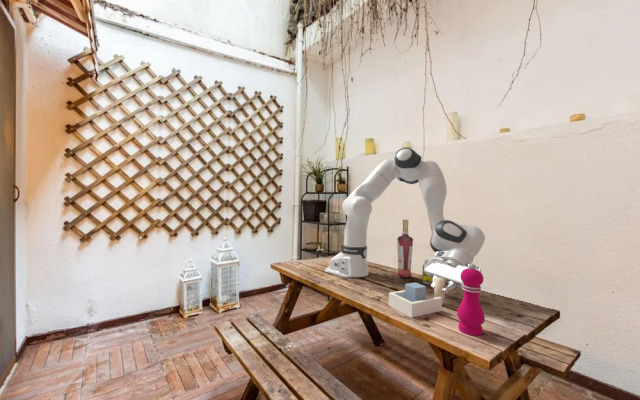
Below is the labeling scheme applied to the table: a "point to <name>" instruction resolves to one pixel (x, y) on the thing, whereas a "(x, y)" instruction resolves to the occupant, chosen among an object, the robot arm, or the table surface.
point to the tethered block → (424, 290)
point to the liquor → (404, 252)
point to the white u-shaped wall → (414, 304)
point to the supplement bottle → (426, 278)
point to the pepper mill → (471, 302)
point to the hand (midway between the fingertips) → (438, 289)
